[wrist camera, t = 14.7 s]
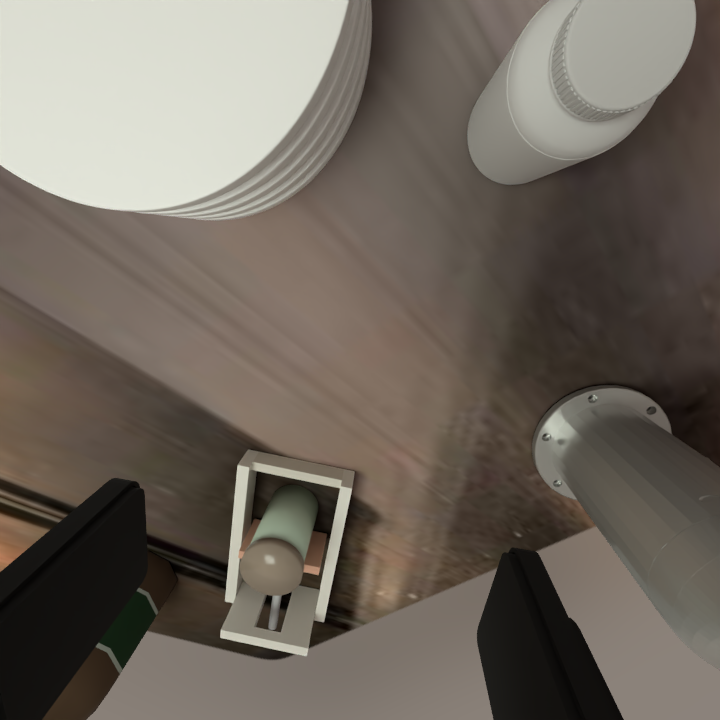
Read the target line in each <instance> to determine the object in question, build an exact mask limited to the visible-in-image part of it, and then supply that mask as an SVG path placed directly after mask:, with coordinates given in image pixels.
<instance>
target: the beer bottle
mask: <svg viewBox="0 0 720 720" xmlns="http://www.w3.org/2000/svg"><path fill="white" fill-rule="evenodd" d="M147 556H148V570H147V574H146V577H145V579H144V581H143V582H142V584H141V585H140V587H139V588H138V589H137V591H136V592H135V594H134V595H133V596H132V598H131V599H130V600H129V602H128V603H127V604H126V606H125V607H124V609H123V610H122V611H121V613H120V614H119V615H118V617H117V618H116V619H115V621H114V622H113V624H112V625H111V626H110V628H109V629H108V630H107V632H106V633H105V635H104V636H103V637H102V639H101V640H100V641H99V643H98V644H97V645H96V647H95V648H94V650H93V651H92V652H91V654H90V655H89V656H88V658H87V659H86V660H85V662H84V663H83V665H82V666H81V667H80V669H79V670H78V671H77V673H76V674H75V675H74V677H73V678H72V680H71V681H70V682H69V684H68V685H67V686H66V688H65V689H64V691H63V692H62V693H61V695H60V696H59V697H58V699H57V700H56V701H55V703H54V704H53V706H52V707H51V708H50V710H49V711H48V712H47V714H46V715H45V716H44V718H43V719H42V720H86V719H87V718H88V717H89V716H90V715H91V714H93V712H95V711H96V709H97V708H98V706H99V705H100V703H101V702H102V700H103V699H104V698H105V696H106V695H107V694H108V692H109V691H110V689H111V687H112V686H113V684H114V683H115V681H116V680H117V678H118V676H119V675H120V673H121V672H122V670H123V668H124V667H125V665H126V663H127V662H128V660H129V659H130V657H131V655H132V654H133V652H134V651H135V649H136V647H137V646H138V644H139V643H140V641H141V639H142V638H143V636H144V635H145V633H146V631H147V630H148V628H149V627H150V625H151V623H152V622H153V620H154V619H155V617H156V615H157V614H158V612H159V611H160V609H161V607H162V606H163V604H164V603H165V601H166V599H167V598H168V596H169V594H170V593H171V591H172V589H173V587H174V585H175V584H176V582H177V577H176V575H175V573H174V571H173V569H172V567H171V565H170V563H169V561H167V560H165V559H163V558H161V557H159V556H157V555H156V554H154V553H152V552H150V551H147Z"/></svg>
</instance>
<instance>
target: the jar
mask: <svg viewBox="0 0 720 720" xmlns="http://www.w3.org/2000/svg"><path fill="white" fill-rule="evenodd" d="M317 513H318V501H317V499H316V497H315V496H314V494H313V493H312V492H311V491H309V490H308V489H306V488H304V487H302V486H299V485H286V486H283V487H281V488H279V489H277V490H276V491H275V493H274V494H273V496H272V498H271V500H270V502H269V504H268V507H267V509H266V511H265V513H264V515H263V517H262V520H261V522H260V524H259V526H258V528H257V530H256V533H255V535H254V537H253V539H252V541H251V543H250V545H249V546H248V547H247V549H246V550H245V553H244V555H243V557H242V559H241V562H240V573H241V575H242V578H243V579H244V581H245V582H246V583H247V584H248V585H249V586H250V587H251V588H253V589H254V590H256V591H258V592H260V593H263V594H266V595H272V596H280V595H285V594H288V593H290V592H292V591H294V590H295V589H296V588H297V587H298V586H299V584H300V582H301V579H302V575H303V571H304V561H305V558H306V554H307V550H308V547H309V543H310V539H311V535H312V532H313V528H314V524H315V520H316V517H317Z"/></svg>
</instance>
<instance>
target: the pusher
mask: <svg viewBox="0 0 720 720" xmlns="http://www.w3.org/2000/svg"><path fill="white" fill-rule="evenodd" d="M260 522H261V520H258V519H254V521H253V523H252V525H251V527H250V529H249V531H248V533H247V535H246V537H245V539H244V541H243V544H242V546H241V548H240V550H239V556H238V558H240V559H242V557H243V555H244V553H245V550H246V549H247V547H248V546H249V545H250V543H251V541H252V539H253V537H254V535H255V533H256V530H257V528H258V526H259V524H260ZM326 537H327V534H326V533H321V532H316V531H313V532H312V535H311V539H310V543H309V547H308V550H307V554H306V558H305V561H304V571H303V572H307V573H312V574H316V575H319V570H320V566H321V561H322V556H323V552H324V547H325V542H326ZM281 596H282V595H280V596H273V598H272V605H271V612H270V618H269V625H268V627H269V629H270V630H274V629H276V627H277V622H278V615H279V609H280V603H281Z"/></svg>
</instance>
